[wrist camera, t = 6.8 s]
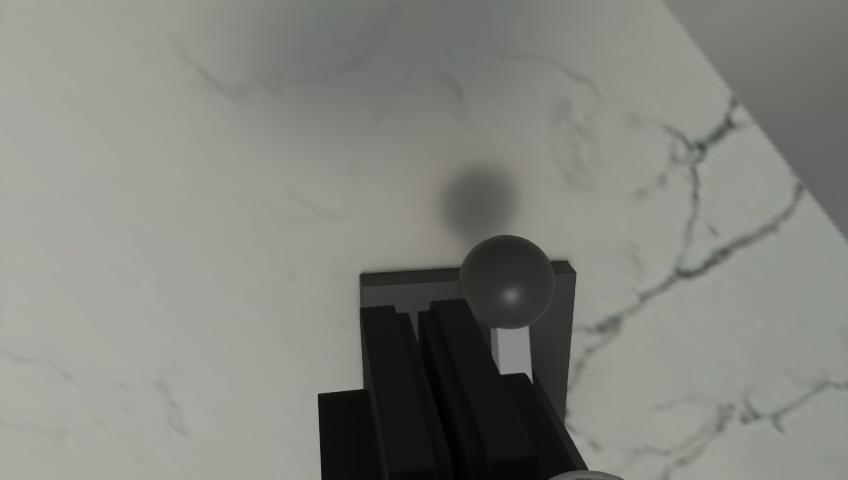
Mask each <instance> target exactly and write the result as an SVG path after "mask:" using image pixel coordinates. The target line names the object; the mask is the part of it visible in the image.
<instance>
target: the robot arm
mask: <svg viewBox="0 0 848 480" xmlns="http://www.w3.org/2000/svg"><path fill="white" fill-rule="evenodd" d="M360 327H361V344H362V361H363V377H364V389H360V390H350V391H341V392H331V393H321V394H318V411H319V433H320V455H321V477H322V480H624V479H622V478H620V477H617V476H614V475H611V474H607V473H604V472H599V471H588V470H579V471H578V470H577V468H576V466H575V464H574V462H573V460H572V458H571V456H570V455H569V453H568V451H567V449H566V447H565V445H564V443H563V441H562V439H561V437H560V435H559V434H558V432H557V430H556V428H555V426H554V424H553V422H552V420H551V418H550V416H549V414H548V413H547V411H546V409H545V407H544V405H543V403H542V401H541V399H540V397H539V395H538V393H537V391H536V390H535V388H534V386H533V384H532V382H531V380H530V378H529V377H528V375H527V374H526V373H523V372H522V373H512V374H503V375H501V374H500V372H499V370H498V368H497V366H496V363H495V361H494V359H493V357H492V355H491V353H490V350H489V348H488V346H487V344H486V342H485V340H484V337H483V335H482V333H481V331H480V329H479V327H478V324H477V322H476V320H475V318H474V316H473V314H472V311H471V309H470V307H469V305H468V303H467V301H466V299H465V298H461V299H450V300H439V301H431V302H430V307H429V310H427V311H418V343H417V339H416V336H415V333H414V329H413V326H412V322H411V319H410V316H409V313H408V312H405V313H396V309H395V306H394V305H383V306H372V307H361V308H360Z"/></svg>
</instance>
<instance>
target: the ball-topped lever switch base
mask: <svg viewBox="0 0 848 480" xmlns="http://www.w3.org/2000/svg"><path fill="white" fill-rule="evenodd" d="M551 266H552V268H553V272H554V278H555V289H554V295H553V298H552V301H551V303H550V305H549V307H548V309H547V310H546V312H545V313H544V314H543V315H542V316H541V317H540V318H539V319H538V320H537V321H536V322H534V323H533V324H531V325H529V336H530V351H531V366H532V381H533V386H534V388H535V390H536V391H537V393H538V395H539V397H540V399H541V401H542V403H543V405H544V407H545V409H546V411H547V413H548V414H549V416H550V418H551V420H552V422H553V424H554V426H555V428H556V430H557V432H558V434H559V435H560V437H561V439H562V441H563V443H564V445H565V447H566V449H567V451H568V453H569V455H570V456H571V458H572V460H573V462H574V464H575V466H576V468H577V470H578V471H579V470H588V468H587V466H586V464H585V462H584V461H583V459H582V457H581V455H580V453H579V451H578V450H577V448H576V446H575V444H574V442H573V441H572V439H571V437H570V435H569V433H568V432H567V430H566V428H565V426H564V419H565V407H566V395H567V382H568V370H569V358H570V346H571V333H572V321H573V309H574V297H575V285H576V271H575V270H574V269H573V268H572V267H571V265H570V264H569V263H568V262H552V263H551ZM460 270H461V269H445V270H430V271H415V272H400V273H384V274H369V275H360V302H361V307H372V306H383V305H394V306H395V309H396V313H405V312H408V313H409V316H410V319H411V322H412V326H413V329H414V333H415V336H416V339H417V343H418V311H427V310H429V307H430V302H431V301H439V300H450V299H461V296H460V292H459V274H460ZM475 320H476V319H475ZM476 322H477V324H478V327H479V329H480V331H481V333H482V335H483V337H484V340H485V342H486V344H487V346H488V348H489V350H490V353H491V355H492V344H491V329H490V328H489V327H487V326H485V325H483V324H481V323H480V322H478V321H477V320H476ZM363 385H364V377H363ZM588 471H589V470H588Z"/></svg>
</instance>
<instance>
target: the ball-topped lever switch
mask: <svg viewBox="0 0 848 480" xmlns="http://www.w3.org/2000/svg"><path fill="white" fill-rule="evenodd" d="M554 289H555V278H554V272H553V268H552V266H551V263H550V261H549V259H548V258H547V256H546V255H545V253H544V252H543V251H542V250H541V249H540V248H539V247H538V246H536V245H535V244H534V243H532V242H530V241H529V240H527V239H524V238H522V237H518V236H512V235H500V236H495V237H491V238H489V239H486V240H484V241H483V242H481V243H479V244H478V245H477V246H475V247H474V248H473V249H472V250H471V251H470V252H469V254H468V255H467V256H466V258H465V260H464V262H463V264H462V267H461V270H460V274H459V292H460V296H461V298H465V299H466V301H467V303H468V305H469V307H470V309H471V311H472V314H473V316H474V318H475V319H476V320H477V321H478V322H480V323H481V324H483V325H485V326H487V327H489V328H490V329H491V344H492V357H493V359H494V361H495V363H496V366H497V368H498V370H499V372H500V374H501V375H503V374H512V373H522V372H523V373H526V374H527V375H528V377H529V378H530V380H531V382H532V384H533V381H532V366H531V351H530V336H529V325H531V324H533V323H534V322H536V321H537V320H538V319H539V318H540V317H541V316H542V315H543V314H544V313H545V312H546V310H547V309H548V307H549V305H550V303H551V301H552V298H553V295H554Z"/></svg>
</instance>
